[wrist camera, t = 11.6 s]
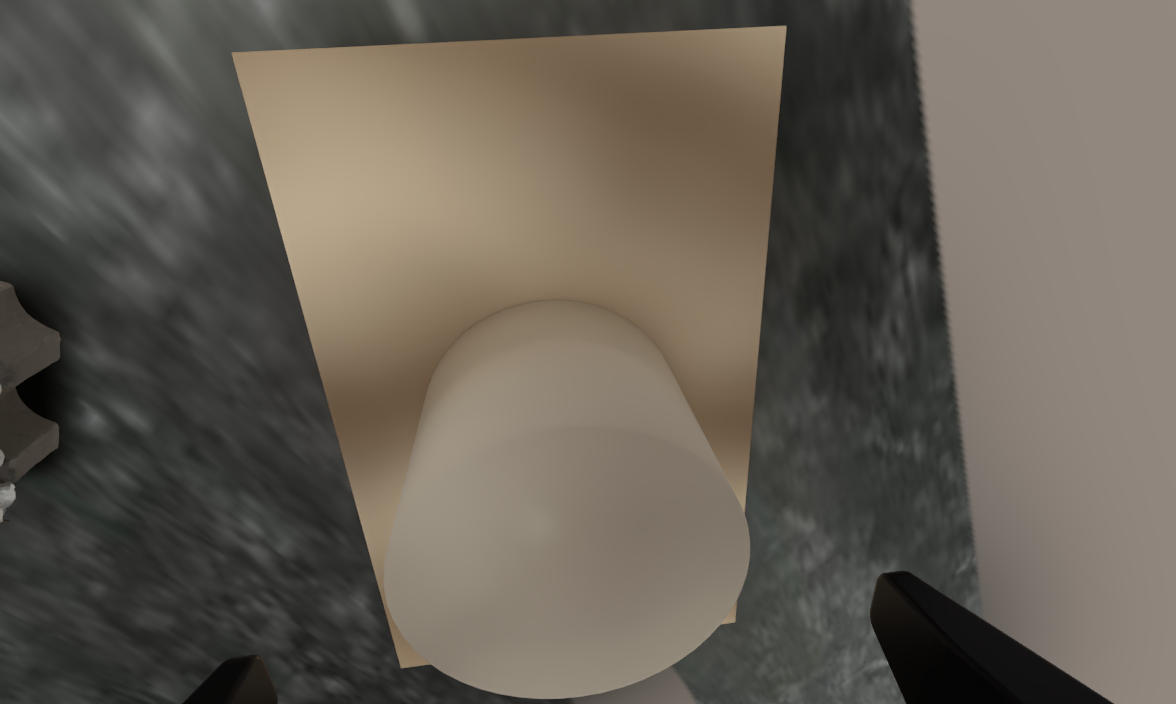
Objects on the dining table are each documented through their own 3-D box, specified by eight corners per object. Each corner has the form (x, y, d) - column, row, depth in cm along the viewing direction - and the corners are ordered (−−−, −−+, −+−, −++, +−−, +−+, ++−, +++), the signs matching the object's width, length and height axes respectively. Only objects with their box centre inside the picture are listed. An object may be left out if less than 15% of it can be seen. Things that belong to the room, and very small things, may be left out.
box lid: (726, 601, 19) (734, 622, 18) (405, 644, 18) (401, 668, 17) (770, 27, 12) (786, 26, 11) (250, 53, 11) (230, 52, 10)
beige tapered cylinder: (674, 501, 16) (737, 674, 11) (445, 528, 15) (418, 719, 11) (678, 289, 13) (765, 405, 9) (402, 312, 13) (344, 448, 8)
